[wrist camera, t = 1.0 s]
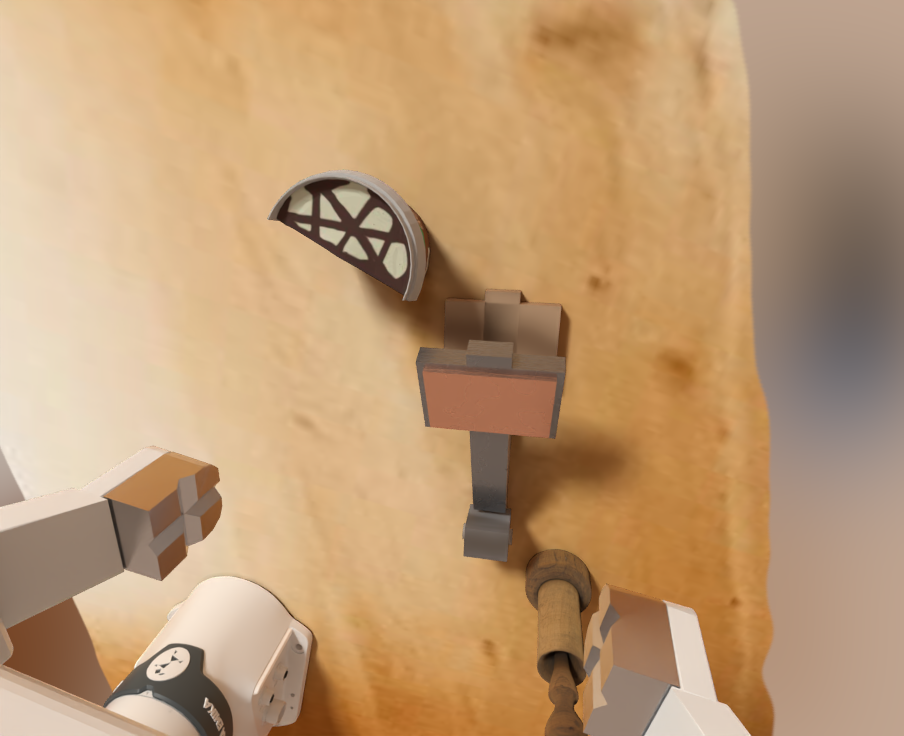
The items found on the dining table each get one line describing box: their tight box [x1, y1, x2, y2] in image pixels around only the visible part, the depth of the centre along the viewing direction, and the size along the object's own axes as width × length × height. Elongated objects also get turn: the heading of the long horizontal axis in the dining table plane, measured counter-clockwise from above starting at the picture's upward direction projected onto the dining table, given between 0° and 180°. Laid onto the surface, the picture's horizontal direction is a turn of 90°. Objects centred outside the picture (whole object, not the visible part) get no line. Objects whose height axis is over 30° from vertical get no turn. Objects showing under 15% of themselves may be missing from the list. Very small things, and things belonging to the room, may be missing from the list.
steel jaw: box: [416, 340, 565, 513], centre depth 39 cm, size 20×10×2 cm, turn 177°
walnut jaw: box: [444, 289, 561, 562], centre depth 43 cm, size 25×10×6 cm, turn 178°
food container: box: [267, 170, 431, 301], centre depth 38 cm, size 12×6×10 cm, turn 60°
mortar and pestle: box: [525, 550, 591, 736], centre depth 41 cm, size 7×6×18 cm
